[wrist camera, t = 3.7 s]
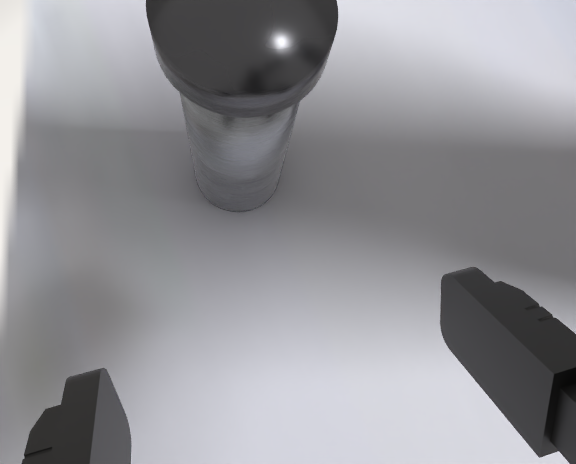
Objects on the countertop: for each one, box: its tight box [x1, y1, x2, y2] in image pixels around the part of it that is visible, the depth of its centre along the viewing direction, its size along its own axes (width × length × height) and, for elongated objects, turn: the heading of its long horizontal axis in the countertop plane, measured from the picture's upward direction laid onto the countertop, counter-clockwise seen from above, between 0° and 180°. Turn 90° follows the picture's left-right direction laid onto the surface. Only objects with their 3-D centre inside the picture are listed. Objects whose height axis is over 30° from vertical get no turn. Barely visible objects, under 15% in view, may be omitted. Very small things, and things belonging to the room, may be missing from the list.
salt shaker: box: [146, 0, 338, 212], centre depth 16 cm, size 4×4×10 cm
